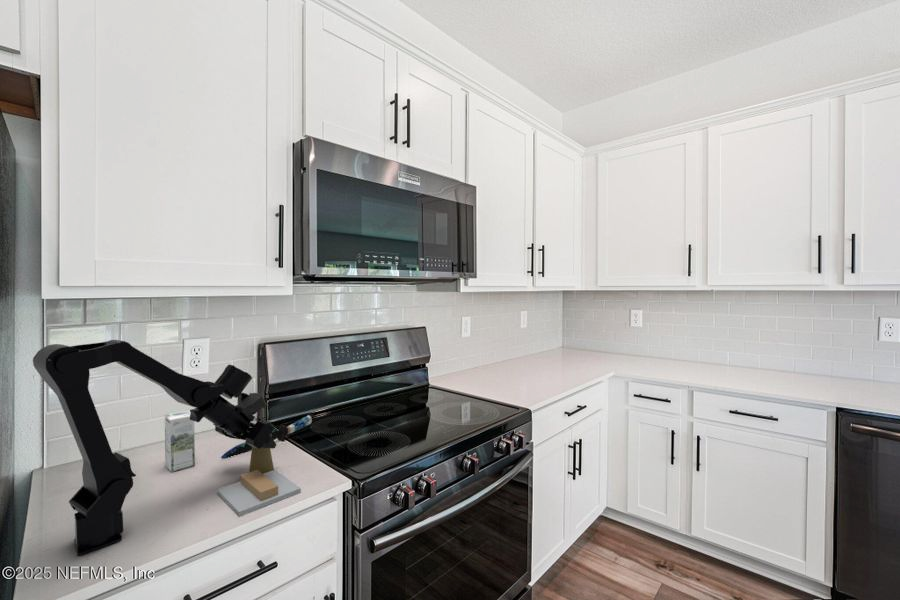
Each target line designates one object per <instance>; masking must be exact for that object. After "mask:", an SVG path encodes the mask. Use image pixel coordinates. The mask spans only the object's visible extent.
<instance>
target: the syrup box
mask: <svg viewBox="0 0 900 600" xmlns="http://www.w3.org/2000/svg"><path fill="white" fill-rule="evenodd" d="M164 438H165V439H164V441H165V442H164V446H165V447H164V449H165V451H164V452H165V467H166V468H167V469H168V470H169V471H170V473H174V472H177V471H181V470H184V468H185V469H187V468H190V467H191V466H192V467H194V466H195V465H196V457H195V456H196V455H195V454H196V448H195V447H196V446H195V421H192V420H190V410H185V411H177V412H174V413H167V414H165V415H164Z"/></svg>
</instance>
